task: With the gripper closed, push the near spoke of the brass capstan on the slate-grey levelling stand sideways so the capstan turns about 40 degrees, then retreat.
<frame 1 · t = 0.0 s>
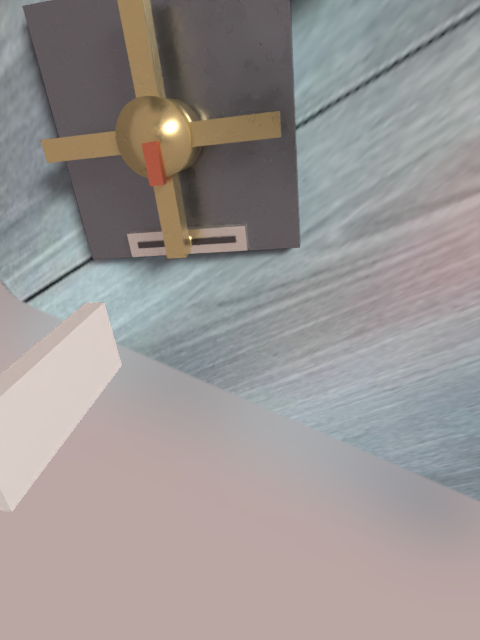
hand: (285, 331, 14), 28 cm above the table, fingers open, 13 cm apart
stand: (178, 135, 38), on the table
capstan: (160, 137, 33), point 5 cm above the table, hinge at 0.0°
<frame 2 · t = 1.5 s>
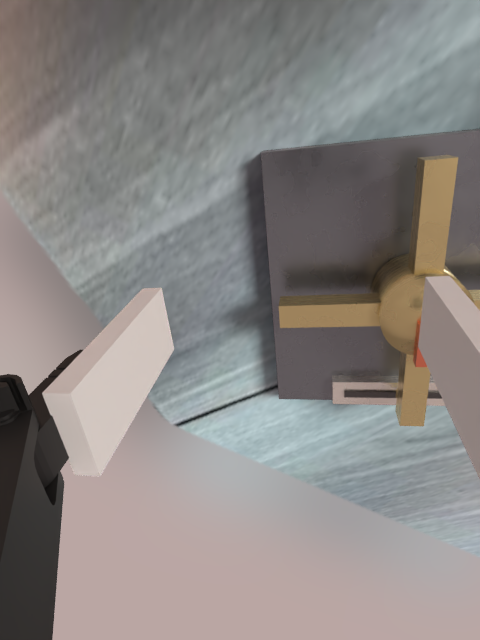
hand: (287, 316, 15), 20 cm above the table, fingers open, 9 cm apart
stand: (404, 279, 33), on the table
capstan: (419, 305, 29), point 5 cm above the table, hinge at 0.0°
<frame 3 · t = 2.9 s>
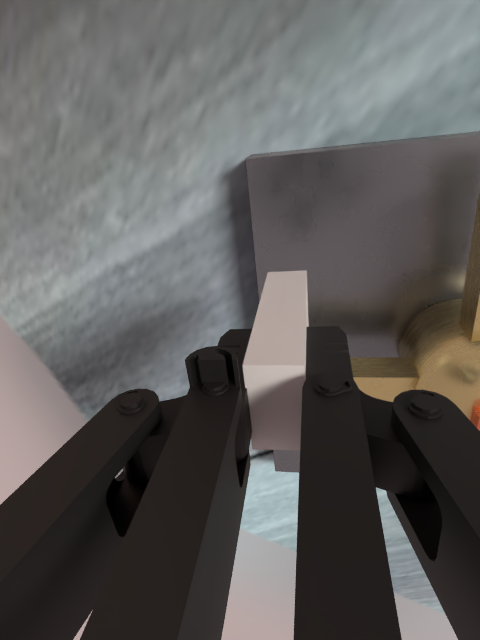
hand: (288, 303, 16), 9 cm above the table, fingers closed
stand: (443, 327, 25), on the table
capstan: (472, 376, 20), point 5 cm above the table, hinge at 0.0°
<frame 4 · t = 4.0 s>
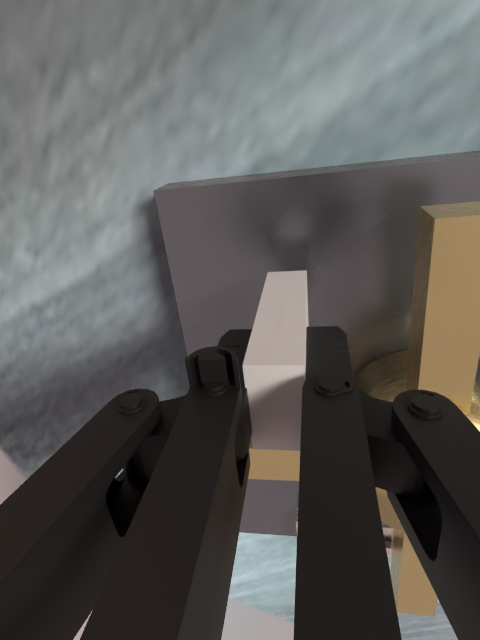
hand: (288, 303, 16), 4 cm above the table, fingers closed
stand: (401, 375, 21), on the table
capstan: (425, 444, 17), point 5 cm above the table, hinge at 0.0°
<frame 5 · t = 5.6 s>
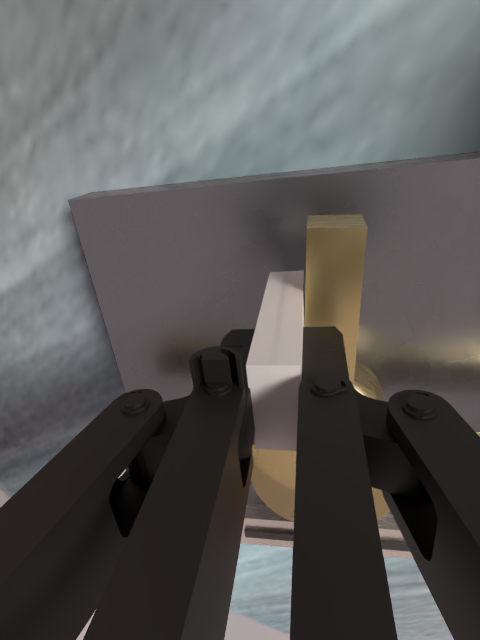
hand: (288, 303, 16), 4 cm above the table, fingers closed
stand: (322, 377, 22), on the table
capstan: (323, 442, 18), point 5 cm above the table, hinge at -3.7°, touching gripper
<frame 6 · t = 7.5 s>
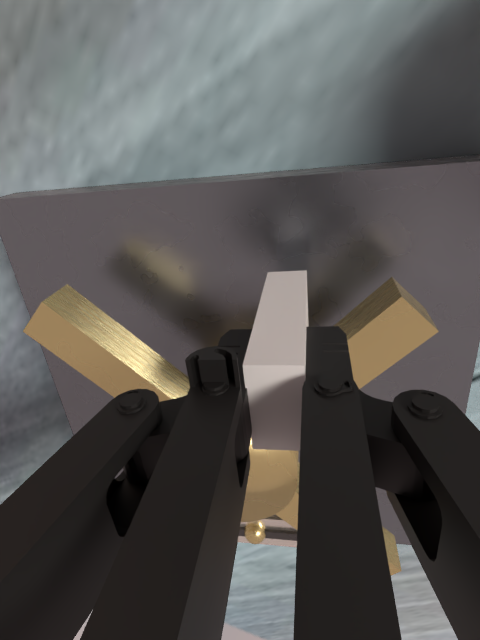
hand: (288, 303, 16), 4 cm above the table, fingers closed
stand: (248, 375, 23), on the table
capstan: (233, 438, 19), point 5 cm above the table, hinge at -45.6°
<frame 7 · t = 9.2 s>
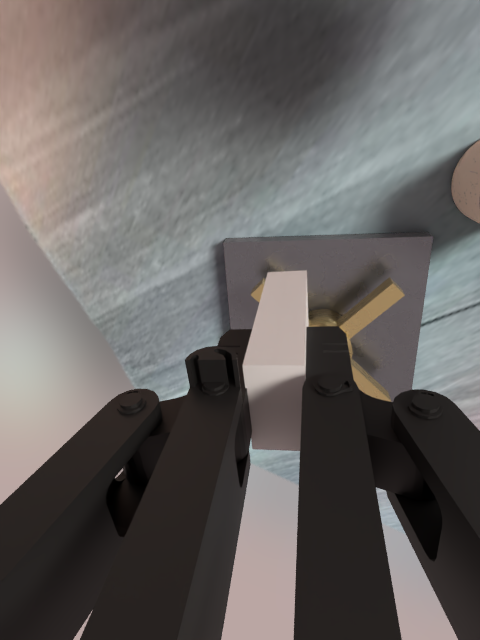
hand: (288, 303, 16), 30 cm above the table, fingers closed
stand: (321, 323, 49), on the table
capstan: (322, 343, 45), point 5 cm above the table, hinge at -45.6°
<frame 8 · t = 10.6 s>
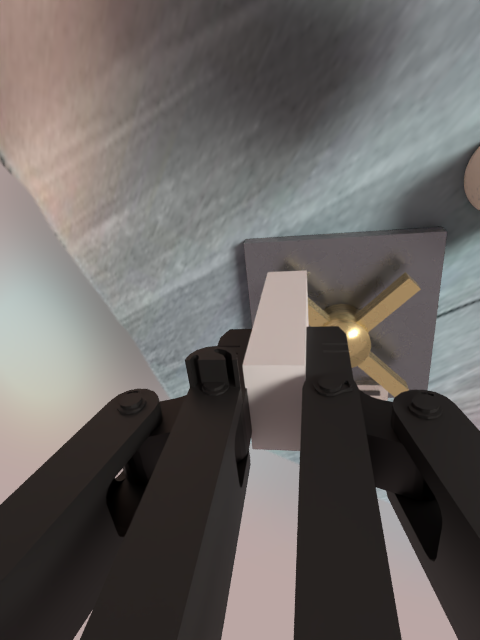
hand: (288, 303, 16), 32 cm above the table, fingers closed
stand: (339, 318, 51), on the table
capstan: (341, 337, 46), point 5 cm above the table, hinge at -45.6°
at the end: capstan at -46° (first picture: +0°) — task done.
